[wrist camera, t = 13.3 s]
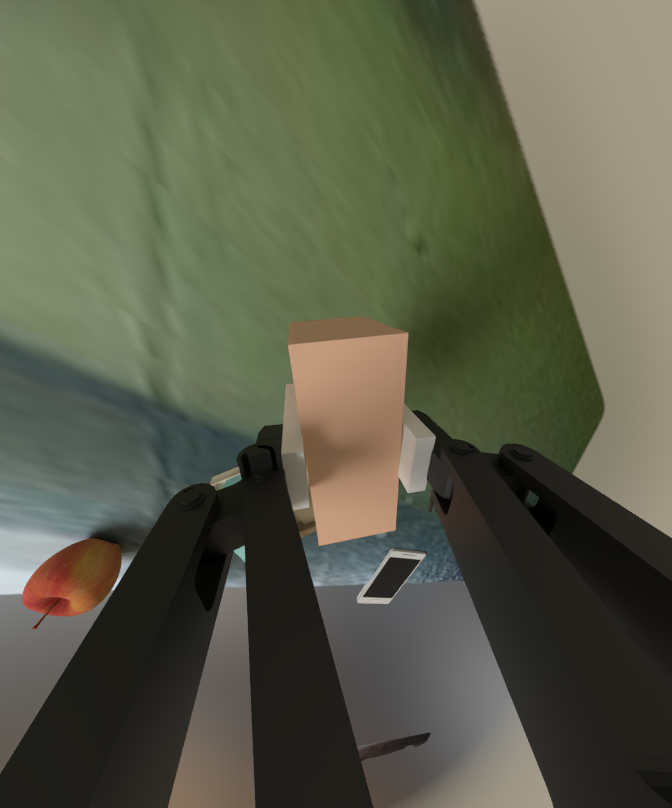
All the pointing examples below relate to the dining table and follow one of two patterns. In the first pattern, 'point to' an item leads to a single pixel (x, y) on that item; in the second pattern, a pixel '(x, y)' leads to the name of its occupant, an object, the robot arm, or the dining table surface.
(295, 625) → the robot arm
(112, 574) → the apple
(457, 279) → the dining table surface
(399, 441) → the salmon block
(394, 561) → the smartphone
